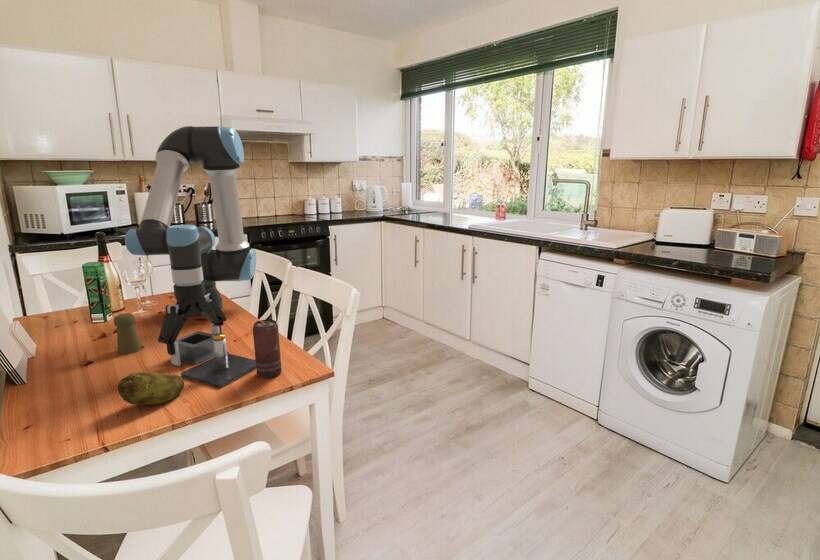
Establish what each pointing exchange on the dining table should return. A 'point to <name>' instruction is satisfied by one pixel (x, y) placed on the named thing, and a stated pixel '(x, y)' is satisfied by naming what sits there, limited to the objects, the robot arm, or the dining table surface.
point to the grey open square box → (196, 347)
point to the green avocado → (150, 387)
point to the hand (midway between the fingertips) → (197, 355)
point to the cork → (126, 334)
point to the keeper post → (220, 366)
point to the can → (267, 348)
